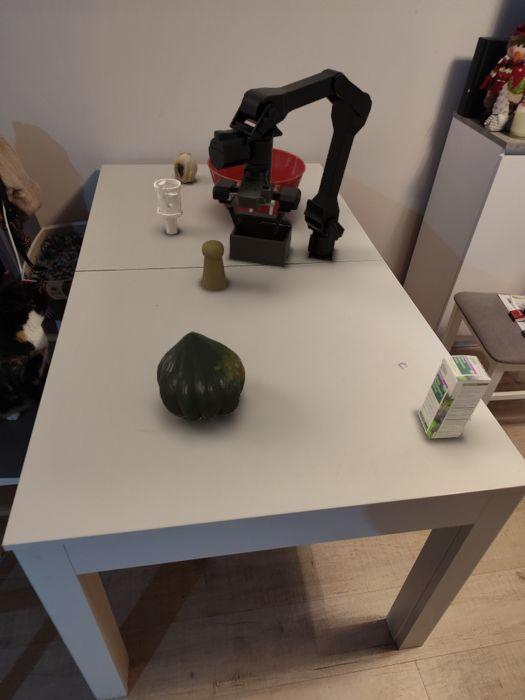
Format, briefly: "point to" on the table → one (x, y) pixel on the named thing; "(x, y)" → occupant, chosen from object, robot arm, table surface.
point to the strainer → (169, 203)
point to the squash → (200, 378)
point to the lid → (263, 216)
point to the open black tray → (260, 243)
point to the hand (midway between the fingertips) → (255, 230)
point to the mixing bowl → (283, 174)
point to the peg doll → (213, 265)
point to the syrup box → (453, 396)
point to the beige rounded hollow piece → (185, 167)
